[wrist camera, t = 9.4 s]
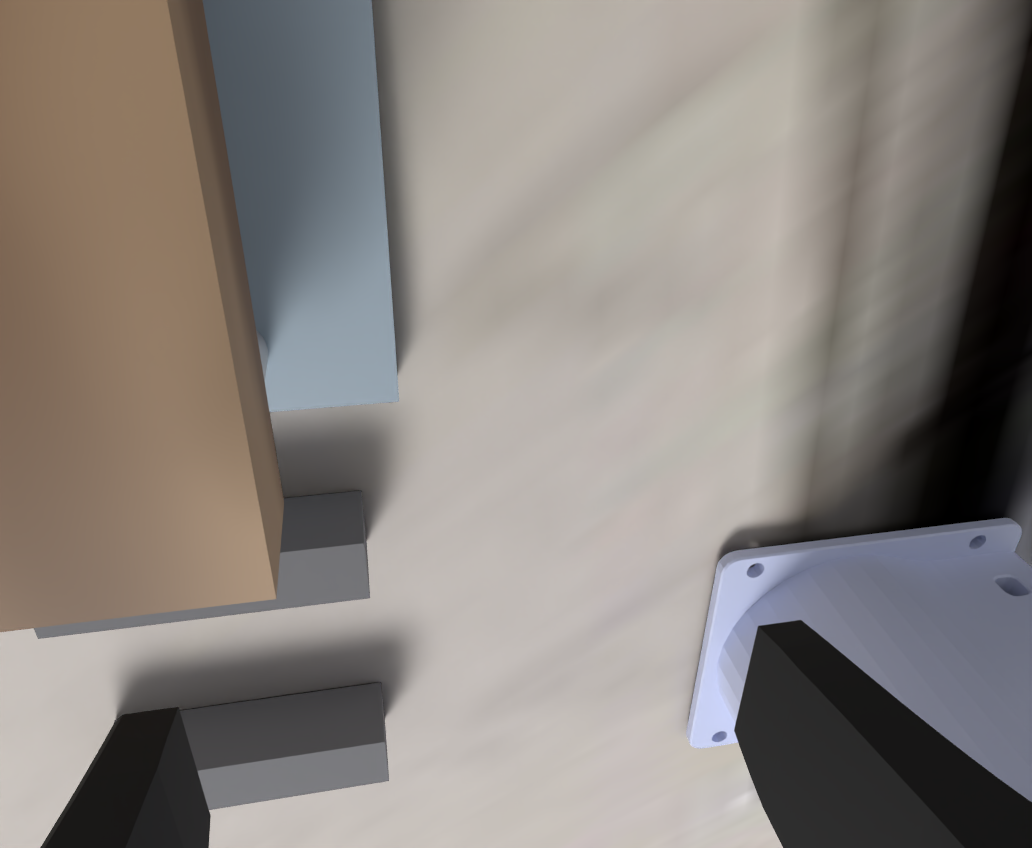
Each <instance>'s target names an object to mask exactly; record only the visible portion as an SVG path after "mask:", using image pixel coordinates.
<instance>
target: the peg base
mask: <svg viewBox="0 0 1032 848" xmlns="http://www.w3.org/2000/svg"><path fill="white" fill-rule="evenodd" d="M203 7H204V13H205V19H206V25H207V31H208V37H209V43H210V50H211V56H212V62H213V68H214V74H215V80H216V86H217V93H218V99H219V105H220V111H221V117H222V123H223V129H224V136H225V142H226V148H227V154H228V160H229V166H230V172H231V179H232V185H233V191H234V197H235V203H236V209H237V215H238V222H239V228H240V234H241V240H242V246H243V252H244V258H245V265H246V271H247V277H248V283H249V289H250V295H251V301H252V308H253V314H254V320H255V326H256V332H257V338H258V345H259V351H260V357H261V363H262V369H263V375H264V381H265V388H266V394H267V400H268V406H269V412H277V411H289V410H301V409H313V408H326V407H338V406H350V405H362V404H375V403H387V402H399V393H398V378H397V364H396V349H395V334H394V320H393V305H392V290H391V276H390V261H389V246H388V232H387V217H386V203H385V188H384V173H383V159H382V144H381V129H380V115H379V100H378V85H377V71H376V56H375V42H374V27H373V12H372V0H203Z"/></svg>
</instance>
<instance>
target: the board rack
mask: <svg viewBox="0 0 1032 848" xmlns="http://www.w3.org/2000/svg"><path fill="white" fill-rule="evenodd" d="M367 598H370V591H369V574H368V558H367V542H366V532H365V522H364V513H363V503H362V493H361V491H353V492H343V493H333V494H322V495H312V496H302V497H292V498H284V511H283V523H282V535H281V548H280V560H279V572H278V585H277V597H276V599H272V600H264V601H256V602H247V603H239V604H231V605H222V606H214V607H206V608H197V609H189V610H181V611H172V612H164V613H156V614H147V615H139V616H131V617H122V618H114V619H106V620H97V621H89V622H81V623H72V624H64V625H56V626H47V627H39V628H34V630H35V632H36V635H37V637H38V639H40V638H49V637H57V636H65V635H73V634H81V633H89V632H97V631H106V630H114V629H122V628H130V627H138V626H146V625H155V624H163V623H171V622H179V621H187V620H195V619H204V618H212V617H220V616H228V615H236V614H244V613H252V612H261V611H269V610H277V609H285V608H293V607H301V606H310V605H318V604H326V603H334V602H342V601H350V600H358V599H367ZM180 714H181V717H182V720H183V724H184V727H185V731H186V734H187V737H188V741H189V744H190V748H191V751H192V755H193V758H194V761H195V765H196V768H197V772H198V775H199V778H200V782H201V785H202V789H203V792H204V795H205V799H206V802H207V806H208V809H209V810H212V809H218V808H224V807H230V806H237V805H243V804H249V803H255V802H261V801H268V800H274V799H280V798H286V797H292V796H298V795H305V794H311V793H317V792H323V791H329V790H335V789H342V788H348V787H354V786H360V785H366V784H373V783H379V782H385V781H389V774H388V759H387V745H386V731H385V718H384V708H383V698H382V688H381V682H380V683H373V684H366V685H359V686H352V687H345V688H338V689H331V690H324V691H316V692H309V693H302V694H295V695H288V696H281V697H274V698H267V699H260V700H253V701H245V702H238V703H231V704H224V705H217V706H210V707H203V708H196V709H189V710H181V711H180ZM116 721H117V720H115V722H116ZM115 722H114V723H115Z"/></svg>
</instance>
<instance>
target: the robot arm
mask: <svg viewBox="0 0 1032 848" xmlns="http://www.w3.org/2000/svg"><path fill="white" fill-rule="evenodd" d="M1021 534H1022V529H1021V526H1019V525H1018V524H1017V523H1016V522H1015V521H1014V520H1012V519H1011V518H999V519H991V520H983V521H974V522H966V523H958V524H950V525H942V526H934V527H925V528H917V529H909V530H901V531H893V532H884V533H876V534H868V535H860V536H852V537H843V538H835V539H827V540H819V541H811V542H802V543H794V544H786V545H778V546H770V547H761V548H753V549H745V550H737V551H733V552H729V553H728V554H726V555H724V556H723V557H722V558H721V560H720V561H719V563H718V565H717V568H716V574H715V579H714V585H713V590H712V596H711V601H710V606H709V612H708V617H707V623H706V628H705V634H704V639H703V644H702V650H701V655H700V661H699V666H698V671H697V677H696V682H695V688H694V693H693V699H692V704H691V709H690V715H689V720H688V726H687V731H686V735H687V738H688V740H689V743H690V744H691V746H692V747H695V748H708V747H714V746H720V745H726V744H732V743H739V745H740V748H741V751H742V754H743V756H744V759H745V762H746V765H747V767H748V770H749V773H750V775H751V778H752V781H753V783H754V786H755V788H756V791H757V793H758V796H759V798H760V801H761V803H762V806H763V808H764V810H765V812H766V814H767V816H768V818H769V820H770V822H771V824H772V826H773V828H774V830H775V832H776V834H777V836H778V838H779V840H780V842H781V844H782V846H783V848H1032V567H1031V566H1030V565H1029V564H1027V563H1026V562H1025V561H1024V560H1023V559H1022V558H1021V557H1020V556H1018V555H1017V554H1016V553H1015V549H1016V547H1017V545H1018V542H1019V540H1020V538H1021ZM753 564H756V565H754V566H753V567H751V568H749V567H750V566H751V565H753ZM209 831H210V812H209V809H208V806H207V802H206V799H205V795H204V792H203V789H202V785H201V782H200V778H199V775H198V772H197V768H196V765H195V761H194V758H193V755H192V751H191V748H190V744H189V741H188V737H187V734H186V731H185V727H184V724H183V720H182V717H181V714H180V710H179V707H175V708H168V709H160V710H153V711H146V712H139V713H132V714H125V715H122V716H121V717H120V718H119V719H118V720H117V721H116V722H115V723H114V725H113V727H112V728H111V730H110V732H109V734H108V735H107V737H106V739H105V741H104V742H103V744H102V746H101V748H100V749H99V751H98V753H97V755H96V756H95V758H94V760H93V762H92V763H91V765H90V767H89V768H88V770H87V772H86V774H85V775H84V777H83V779H82V780H81V782H80V784H79V785H78V787H77V789H76V791H75V792H74V794H73V796H72V797H71V799H70V801H69V802H68V804H67V805H66V807H65V809H64V810H63V812H62V814H61V815H60V817H59V818H58V820H57V822H56V823H55V825H54V827H53V828H52V830H51V831H50V833H49V835H48V836H47V838H46V840H45V841H44V843H43V844H42V846H41V847H40V848H208V847H209Z"/></svg>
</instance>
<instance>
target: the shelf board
mask: <svg viewBox="0 0 1032 848" xmlns="http://www.w3.org/2000/svg"><path fill="white" fill-rule="evenodd" d="M283 511H284V498H283V492H282V486H281V480H280V474H279V467H278V461H277V455H276V449H275V443H274V437H273V431H272V424H271V418H270V412H269V406H268V400H267V394H266V388H265V381H264V375H263V369H262V363H261V357H260V351H259V345H258V338H257V332H256V326H255V320H254V314H253V308H252V301H251V295H250V289H249V283H248V277H247V271H246V265H245V258H244V252H243V246H242V240H241V234H240V228H239V222H238V215H237V209H236V203H235V197H234V191H233V185H232V179H231V172H230V166H229V160H228V154H227V148H226V142H225V136H224V129H223V123H222V117H221V111H220V105H219V99H218V93H217V86H216V80H215V74H214V68H213V62H212V56H211V50H210V43H209V37H208V31H207V25H206V19H205V13H204V7H203V0H0V632H6V631H14V630H22V629H31V628H39V627H47V626H56V625H64V624H72V623H81V622H89V621H97V620H106V619H114V618H122V617H131V616H139V615H147V614H156V613H164V612H172V611H181V610H189V609H197V608H206V607H214V606H222V605H231V604H239V603H247V602H256V601H264V600H272V599H276V597H277V585H278V572H279V560H280V548H281V535H282V523H283Z"/></svg>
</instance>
